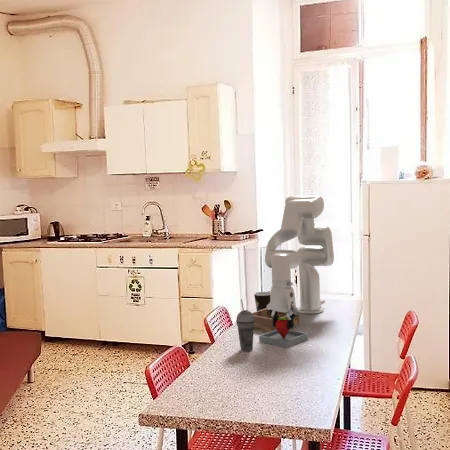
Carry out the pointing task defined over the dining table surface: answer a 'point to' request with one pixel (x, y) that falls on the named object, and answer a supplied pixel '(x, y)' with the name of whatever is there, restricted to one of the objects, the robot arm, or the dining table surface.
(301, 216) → the robot arm
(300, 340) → the slate tray
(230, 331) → the dining table surface
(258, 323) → the walnut bin
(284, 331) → the strawberry
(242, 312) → the beverage cup
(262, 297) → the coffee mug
